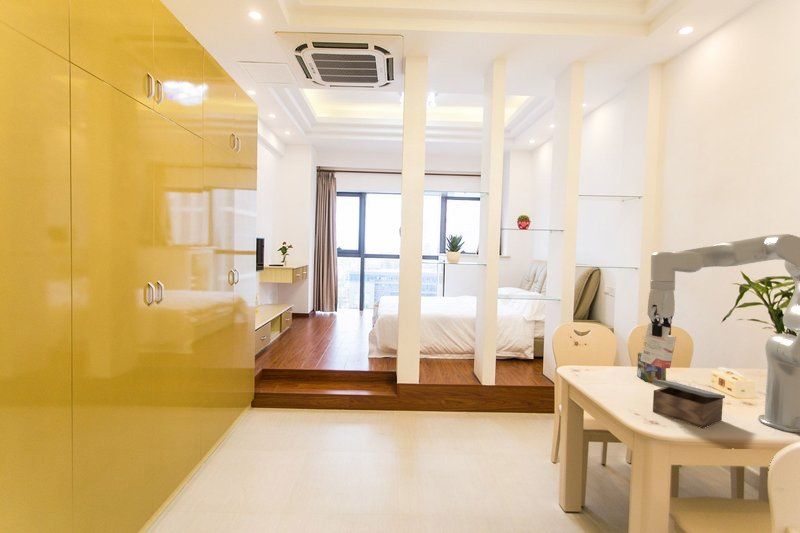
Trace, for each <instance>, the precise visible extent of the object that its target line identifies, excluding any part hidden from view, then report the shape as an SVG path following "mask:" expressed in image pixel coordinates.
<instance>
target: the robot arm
mask: <svg viewBox="0 0 800 533" xmlns="http://www.w3.org/2000/svg"><path fill="white" fill-rule="evenodd" d="M774 260H776V261H777V260H782V261H784V268H785V270H786V272H787V273H788V274H789V275H790V276H791V278H792V280H793V282H794V291H793V294H792V296H791V298H790V300H789V303H788V305H787V307H786V309H785V312H784V314H783V316H782V324H783V326H784V327H785V328H786V329H788V330H791V331H792V332H795V333H797V335H793V334H789V333H775V334H773V335H771V336H770V337H769V338H768V339H766V343H765V347H764V348H765V349H764V350H765V357H766V364H767V370H766V382H765V383H766V384H765V402H764V403H765V404H764V414H760V415H758V421H759V422H760V423H762V424H763V425H766V426H768V427H771V428H773V429H777V430H781V431H785V432H791V433H797V434H798V433H800V237H799V236H797V235H793V234H789V233H784V234H783V233H782V234H769V235H763V236H759V237H758V236H757V237H753V238H746V239H741V240H736V241H730V242H722V243H718V244H714V245H708V246H703V247H696V248H692V249H685V250H680V251H676V252H671V251H657V252H652V254H651V256H650V289H649V292H648V293H649V294H648V300H647V301H648V303H647V316H648V318H649V320H650V323H651V324H652V336H657V337H662V326H664V327H668V328H670V332H669V335H670V336H672V335H671V334H672V322H673V317H674V316H675V307H676V306H675V305H676V304H675V293H674V292H675V291H676V272H678V273H679V272H682V273H689V274H690V273H696V272H699V271H701V270H702V269H703V268H713V267H724V268H725V267H728V268H729V267H737V266H743V265H748V264H749V265H750V264H755V263H760V262H766V261H774Z"/></svg>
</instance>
